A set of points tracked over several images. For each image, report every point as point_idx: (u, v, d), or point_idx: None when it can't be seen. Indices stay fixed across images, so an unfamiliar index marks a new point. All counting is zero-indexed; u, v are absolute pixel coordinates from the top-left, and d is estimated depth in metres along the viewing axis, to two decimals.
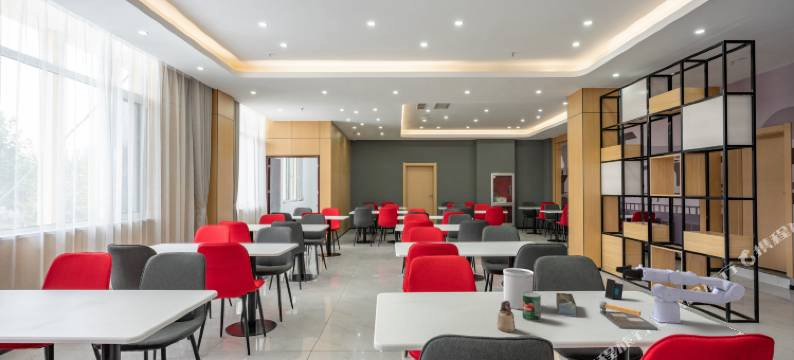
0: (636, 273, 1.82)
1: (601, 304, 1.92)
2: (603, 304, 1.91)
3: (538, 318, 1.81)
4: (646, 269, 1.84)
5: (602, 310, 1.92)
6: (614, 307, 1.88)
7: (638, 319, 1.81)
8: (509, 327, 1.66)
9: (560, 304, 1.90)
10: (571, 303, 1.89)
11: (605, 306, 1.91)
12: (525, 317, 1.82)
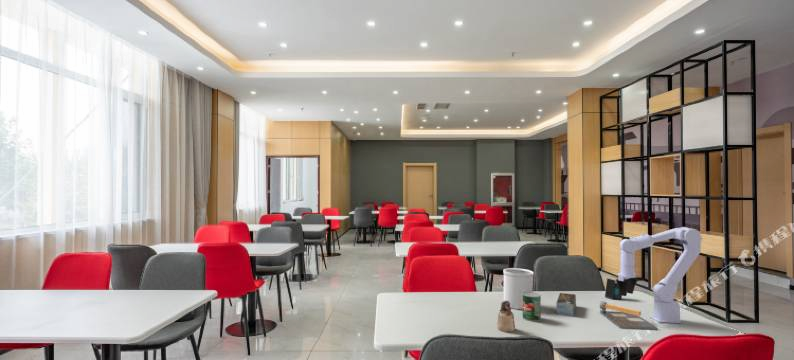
0: (622, 284, 1.86)
1: (601, 304, 1.92)
2: (603, 304, 1.91)
3: (538, 318, 1.81)
4: (620, 270, 1.89)
5: (602, 310, 1.92)
6: (614, 307, 1.88)
7: (638, 319, 1.81)
8: (509, 327, 1.66)
9: (557, 304, 1.91)
10: (569, 303, 1.89)
11: (605, 306, 1.91)
12: (525, 317, 1.82)
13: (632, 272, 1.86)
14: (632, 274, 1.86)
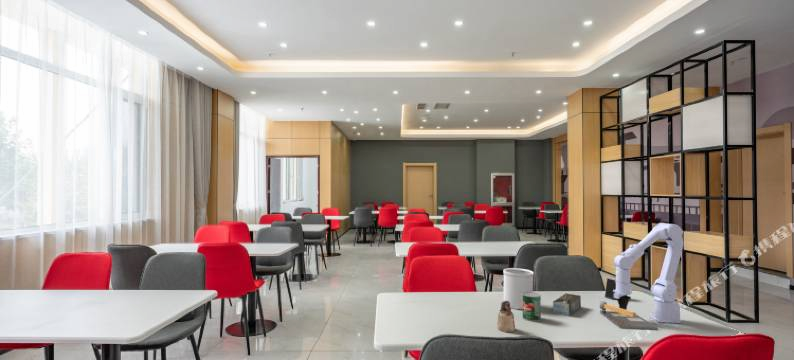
0: (621, 300, 1.85)
1: (600, 304, 1.92)
2: (602, 304, 1.91)
3: (538, 318, 1.81)
4: (616, 287, 1.86)
5: (602, 310, 1.92)
6: (611, 307, 1.87)
7: (638, 319, 1.81)
8: (509, 327, 1.66)
9: (554, 303, 1.92)
10: (565, 303, 1.89)
11: (604, 306, 1.91)
12: (525, 317, 1.82)
13: (628, 289, 1.82)
14: (628, 291, 1.82)
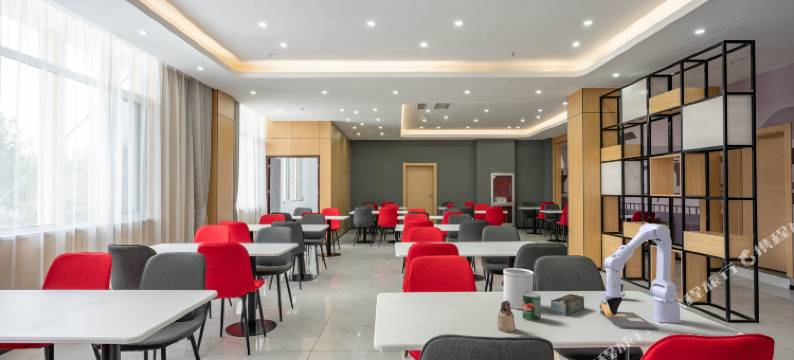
0: (612, 302, 1.81)
1: None
2: (600, 303, 1.92)
3: (538, 318, 1.81)
4: (606, 289, 1.82)
5: (602, 310, 1.92)
6: (603, 307, 1.88)
7: (638, 319, 1.81)
8: (509, 327, 1.66)
9: (552, 302, 1.94)
10: (562, 302, 1.90)
11: (601, 306, 1.91)
12: (525, 317, 1.82)
13: (617, 291, 1.78)
14: (617, 293, 1.78)
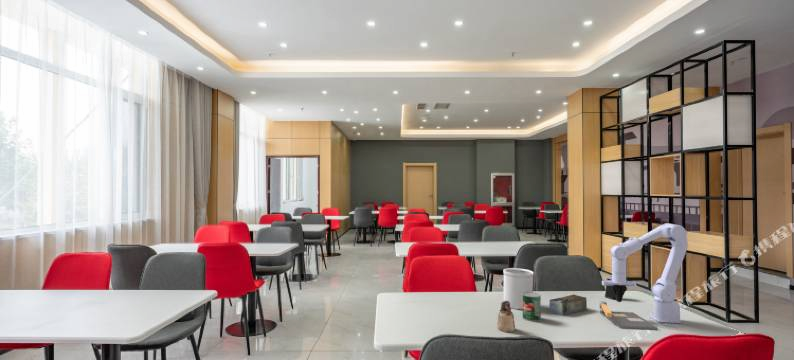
0: None
1: None
2: (600, 303, 1.92)
3: (538, 318, 1.81)
4: None
5: (602, 310, 1.92)
6: (603, 307, 1.88)
7: (638, 319, 1.81)
8: (509, 327, 1.66)
9: (550, 301, 1.95)
10: (559, 302, 1.91)
11: (601, 306, 1.91)
12: (525, 317, 1.82)
13: (619, 279, 1.85)
14: (619, 281, 1.85)
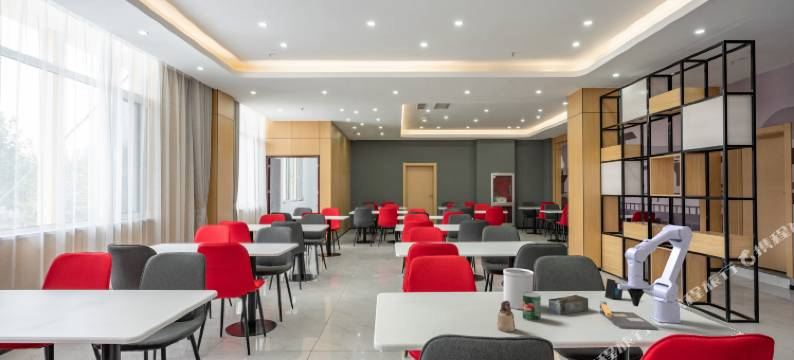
0: None
1: None
2: (600, 303, 1.92)
3: (538, 318, 1.81)
4: None
5: (602, 310, 1.92)
6: (603, 307, 1.88)
7: (638, 319, 1.81)
8: (509, 327, 1.66)
9: (549, 301, 1.96)
10: (557, 301, 1.92)
11: (601, 306, 1.91)
12: (525, 317, 1.82)
13: (636, 282, 1.78)
14: (636, 284, 1.78)
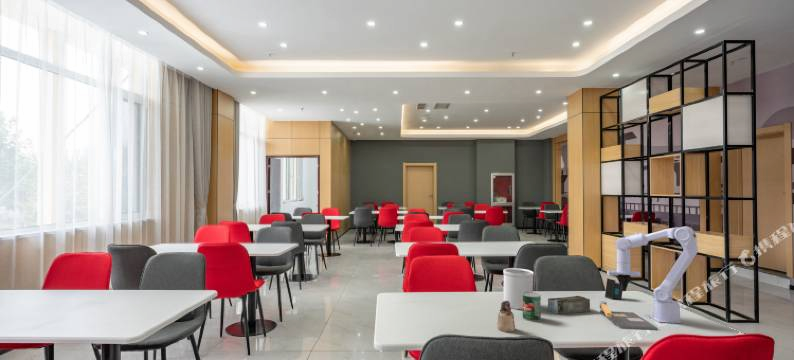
0: (621, 279, 1.96)
1: None
2: (600, 303, 1.92)
3: (538, 318, 1.81)
4: None
5: (602, 310, 1.92)
6: (603, 307, 1.88)
7: (638, 319, 1.81)
8: (509, 327, 1.66)
9: (548, 300, 1.97)
10: (555, 301, 1.92)
11: (601, 306, 1.91)
12: (525, 317, 1.82)
13: (623, 269, 1.93)
14: (624, 271, 1.93)
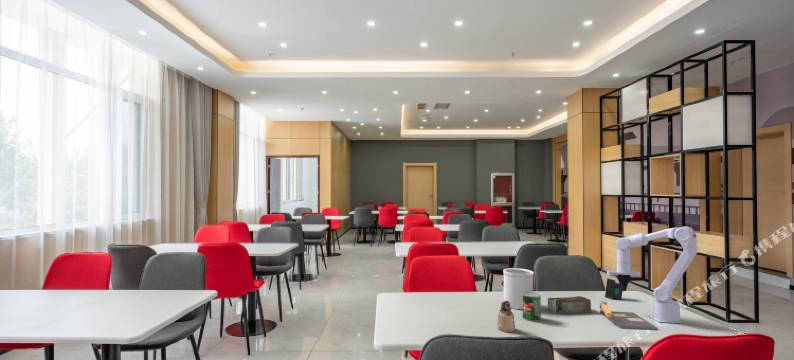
0: (621, 279, 1.96)
1: None
2: (600, 303, 1.92)
3: (538, 318, 1.81)
4: None
5: (602, 310, 1.92)
6: (603, 307, 1.88)
7: (638, 319, 1.81)
8: (509, 327, 1.66)
9: (548, 299, 1.98)
10: (554, 300, 1.93)
11: (601, 306, 1.91)
12: (525, 317, 1.82)
13: (623, 269, 1.93)
14: (624, 271, 1.93)
